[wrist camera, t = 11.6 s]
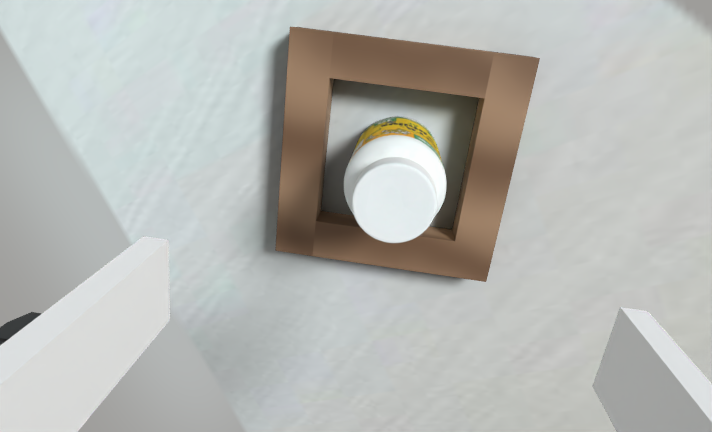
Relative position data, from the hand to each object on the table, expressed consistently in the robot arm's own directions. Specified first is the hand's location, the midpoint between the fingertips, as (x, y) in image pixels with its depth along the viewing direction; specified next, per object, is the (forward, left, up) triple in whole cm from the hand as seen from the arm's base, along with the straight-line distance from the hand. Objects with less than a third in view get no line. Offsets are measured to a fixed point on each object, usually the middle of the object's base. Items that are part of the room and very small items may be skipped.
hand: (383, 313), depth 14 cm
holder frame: (0, 0, -19) cm, 19 cm away
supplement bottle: (0, 0, -19) cm, 19 cm away
